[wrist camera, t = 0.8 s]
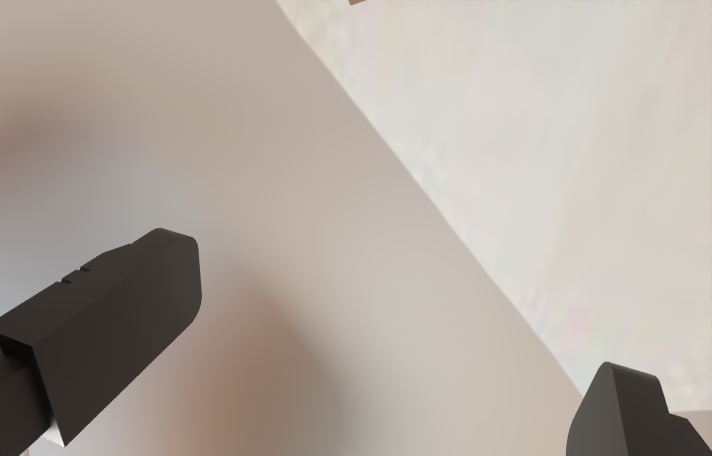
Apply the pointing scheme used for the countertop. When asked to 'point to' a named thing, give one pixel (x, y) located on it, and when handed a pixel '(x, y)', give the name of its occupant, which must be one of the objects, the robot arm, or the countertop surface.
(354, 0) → the walnut bay
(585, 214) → the countertop surface
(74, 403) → the robot arm
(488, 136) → the countertop surface
